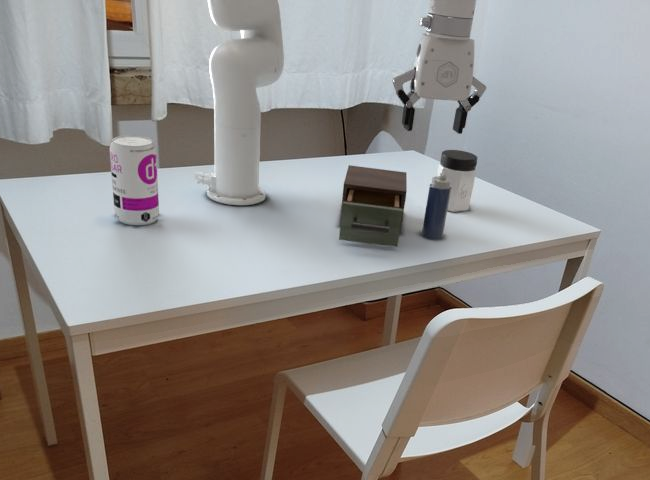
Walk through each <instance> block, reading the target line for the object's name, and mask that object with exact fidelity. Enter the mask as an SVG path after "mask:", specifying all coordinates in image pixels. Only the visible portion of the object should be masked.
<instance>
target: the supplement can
mask: <svg viewBox="0 0 650 480" xmlns="http://www.w3.org/2000/svg"><path fill="white" fill-rule="evenodd" d="M111 141H112V142H111V143H110V145H109V148H108V149H109V160H110V162H109V163H110V171H111V184H112V185H111V186H112V198H113V209H114V217H115V218H116V219H117V220H118V221H119V222H120V223H122V224H125V225H129V226H146V225H151V224H153V223H155V222H156V221H157V220H158V219H159V218H160V203H159V181H158V160H157V148H156V146H155V144H154V143H153V140H152V139H151V138H149V137H147V136H141V135H120V136H115V137H113V138H112V140H111Z"/></svg>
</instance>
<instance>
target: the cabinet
mask: <svg viewBox="0 0 650 480" xmlns="http://www.w3.org/2000/svg"><path fill="white" fill-rule="evenodd" d="M343 181H344V182H343V187H342V196H341V208H340V218H339V219H340V220H339V226H338V227H339V228H340V224H341V214H342V204H343V201H344V202H347V199H348V195H349V191H350V188H351V189H359V190H367V191H375V192H383V193H391V194H399V208H400V209H403V213H402V220H401V226H400V233H399V235H401V232H402V225H403V224H402V223H403V218H404V211H405V204H406V198H407V191H408V190H407V187H408V186H407V183H408V182H407V172H405V171H398V170H390V169H382V168H376V167H375V168H373V167H365V166H360V165H359V166H358V165H350V164H349V165H348V166H347V170H346V174H345V178H344V180H343Z"/></svg>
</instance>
